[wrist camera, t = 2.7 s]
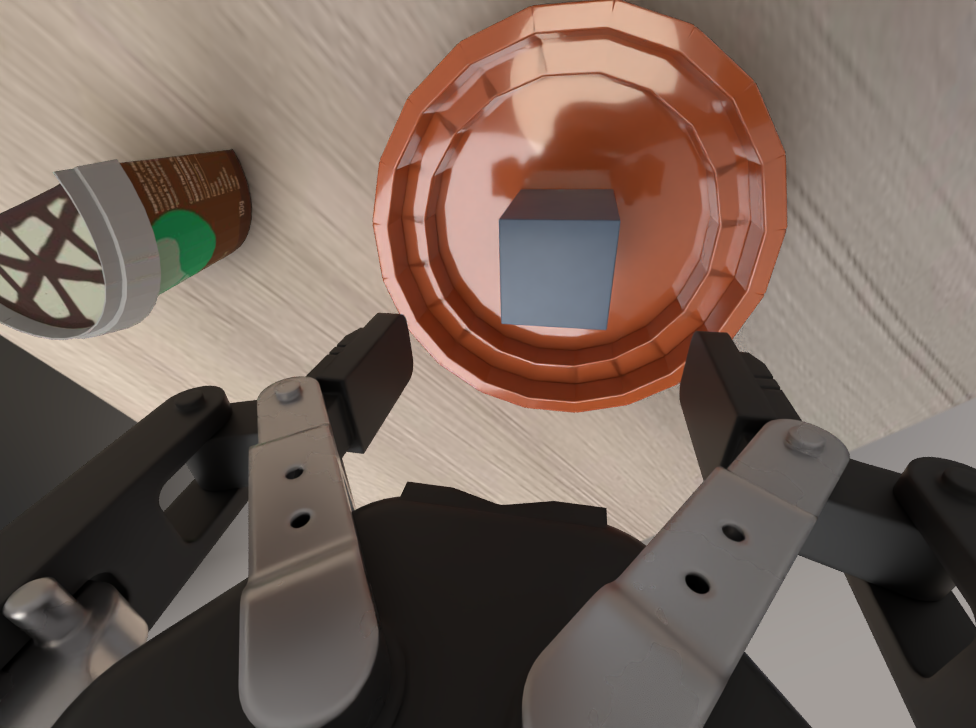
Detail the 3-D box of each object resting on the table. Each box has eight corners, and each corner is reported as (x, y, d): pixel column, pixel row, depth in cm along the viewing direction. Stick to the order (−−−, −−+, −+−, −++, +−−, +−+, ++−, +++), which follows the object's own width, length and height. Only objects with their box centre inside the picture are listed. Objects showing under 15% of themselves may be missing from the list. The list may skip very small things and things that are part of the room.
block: (613, 188, 20) (620, 220, 15) (603, 278, 23) (606, 330, 18) (520, 189, 21) (498, 218, 16) (520, 275, 23) (500, 324, 18)
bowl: (814, -1, 16) (873, -25, 12) (703, 383, 25) (720, 427, 22) (379, 34, 19) (335, 21, 16) (424, 361, 29) (403, 396, 25)
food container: (173, 293, 30) (15, 370, 22) (110, 206, 27) (-101, 256, 19) (310, 248, 26) (178, 321, 17) (252, 139, 23) (62, 166, 15)
